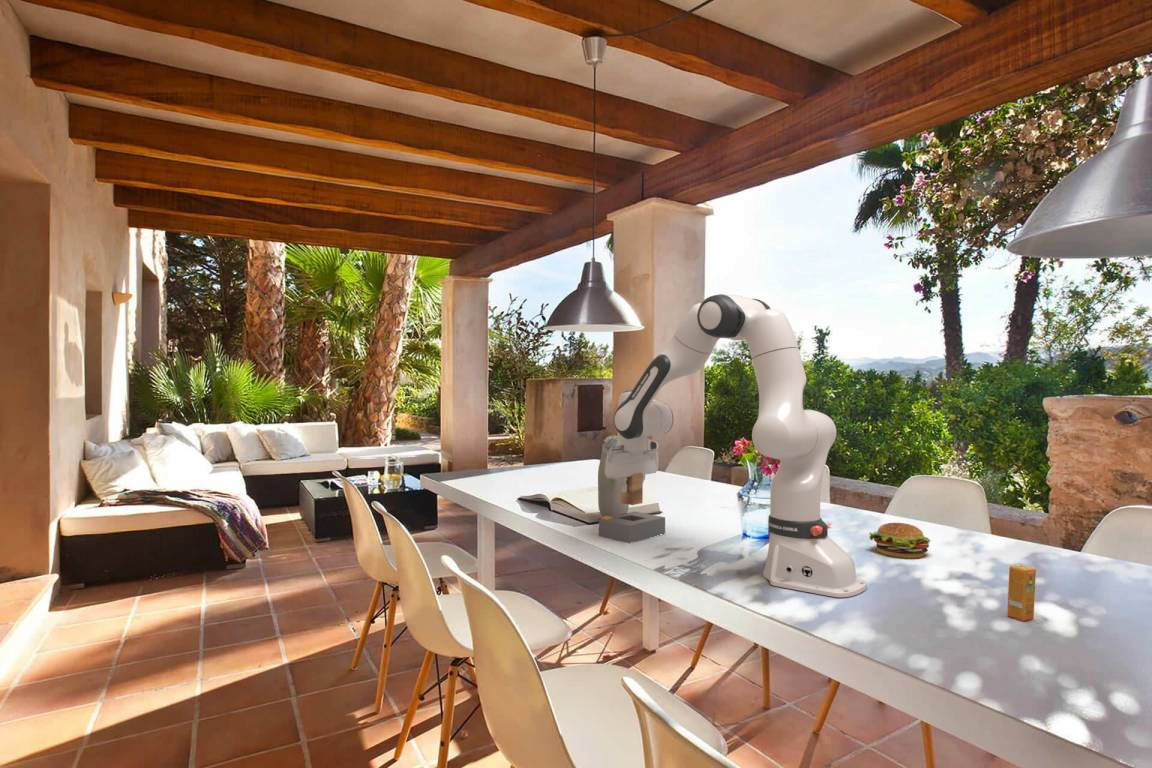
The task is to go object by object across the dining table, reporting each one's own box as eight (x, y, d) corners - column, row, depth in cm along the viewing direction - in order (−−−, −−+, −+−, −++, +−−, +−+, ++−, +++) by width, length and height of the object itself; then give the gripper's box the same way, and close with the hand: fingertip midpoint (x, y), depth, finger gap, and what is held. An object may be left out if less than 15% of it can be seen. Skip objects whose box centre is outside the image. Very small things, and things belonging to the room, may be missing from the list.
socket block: (665, 534, 196) (665, 515, 196) (629, 543, 185) (629, 523, 185) (634, 527, 205) (634, 509, 205) (598, 535, 194) (598, 517, 194)
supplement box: (1024, 622, 125) (1025, 569, 125) (1006, 616, 128) (1007, 565, 128) (1036, 619, 126) (1036, 567, 126) (1017, 613, 130) (1018, 563, 129)
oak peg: (642, 503, 195) (642, 472, 195) (632, 505, 192) (632, 474, 192) (631, 501, 198) (631, 471, 198) (621, 502, 195) (621, 472, 195)
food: (898, 544, 184) (898, 516, 184) (940, 557, 171) (940, 527, 171) (858, 548, 180) (858, 519, 180) (898, 562, 167) (898, 530, 167)
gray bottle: (595, 518, 218) (596, 434, 218) (626, 517, 220) (626, 433, 219) (600, 524, 209) (600, 436, 208) (631, 523, 210) (632, 436, 210)
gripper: (616, 447, 185) (615, 496, 185) (662, 443, 199) (661, 488, 200) (600, 446, 190) (599, 493, 190) (646, 441, 204) (645, 485, 204)
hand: (632, 491), depth 195 cm, fingers closed on oak peg, 4 cm apart
